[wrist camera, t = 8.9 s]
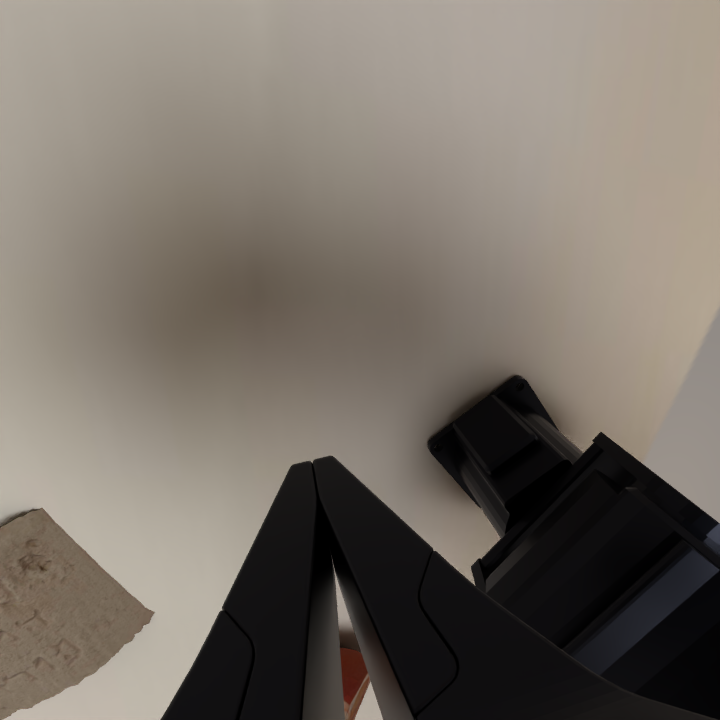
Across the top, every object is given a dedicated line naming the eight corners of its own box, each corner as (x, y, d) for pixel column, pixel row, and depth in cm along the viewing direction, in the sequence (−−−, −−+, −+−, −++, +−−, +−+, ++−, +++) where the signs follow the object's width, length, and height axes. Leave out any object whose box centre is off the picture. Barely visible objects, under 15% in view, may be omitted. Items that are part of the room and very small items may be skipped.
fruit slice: (353, 697, 32) (367, 781, 28) (263, 704, 31) (263, 795, 26) (381, 620, 30) (402, 700, 25) (283, 622, 28) (287, 709, 23)
